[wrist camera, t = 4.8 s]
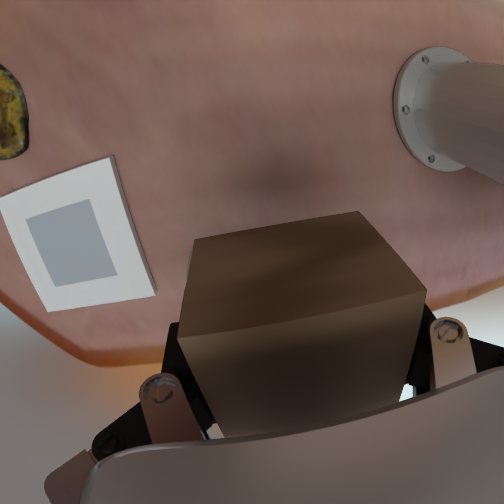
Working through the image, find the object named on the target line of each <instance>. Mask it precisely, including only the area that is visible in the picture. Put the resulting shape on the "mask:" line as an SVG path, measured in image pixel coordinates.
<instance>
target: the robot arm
mask: <svg viewBox="0 0 504 504" xmlns="http://www.w3.org/2000/svg"><path fill="white" fill-rule="evenodd" d="M393 103H394V115H395V120H396V125H397V128H398V131H399V134H400V136H401V138H402V140H403V142H404V144H405V146H406V147H407V149H408V150H409V151H410V152H411V154H412V155H413V156H414V157H415V158H416V159H418V160H419V161H420V162H421V163H423V164H425V165H427V166H428V167H430V168H433V169H435V170H438V171H443V172H453V171H458V170H461V169H463V168H465V167H468V168H470V169H472V170H474V171H477V172H479V173H481V174H483V175H485V176H487V177H489V178H491V179H493V180H495V181H496V182H498V183H500V184H502V185H504V65H502V64H489V63H473V62H472V61H471V60H470V59H469V58H468V57H466V56H465V55H464V54H462V53H460V52H459V51H457V50H455V49H451V48H448V47H429V48H425V49H423V50H420V51H418V52H416V53H415V54H414V55H412V56H411V57H410V58H409V59H408V60H407V61H406V63H405V64H404V65H403V67H402V69H401V71H400V73H399V75H398V78H397V81H396V84H395V89H394V98H393ZM402 107H403V110H402ZM184 293H185V291H184ZM183 299H184V297H183ZM182 304H183V302H182ZM181 310H182V308H181ZM180 316H181V314H180ZM179 322H180V320H179ZM179 322H175V323H171V324H170V327H169V332H168V337H167V342H166V348H165V353H164V359H163V365H162V370H161V373H159V374H155V375H153V376H151V377H149V378H148V379H146V380H145V381H144V383H143V384H142V385H141V387H140V390H139V398H140V402H139V403H137V404H136V405H135V406H134V407H133V408H131V409H130V410H129V411H127V412H126V413H125V414H123V415H122V416H121V417H119V418H118V419H117V420H115V421H114V422H113V423H111V424H110V425H109V426H108V427H106V428H105V429H103V430H102V431H101V432H100V433H99V434H97V435H96V437H95V438H94V440H93V443H92V449H90V450H89V451H87V450H86V449H85V450H83V451H82V452H80V453H79V454H77V455H76V456H75V457H73V458H72V459H70V460H69V461H67V462H66V463H65V464H63V465H62V466H60V467H59V468H57V469H56V470H54V471H53V472H51V473H50V474H49V475H48V476H47V478H46V480H45V482H44V489H45V493H46V495H47V496H48V498H49V500H50V502H51V504H504V347H500V346H497V345H493V344H490V343H487V342H483V341H480V340H477V339H473V338H470V337H469V336H468V332H467V329H466V327H465V326H464V324H463V323H462V322H460V321H459V320H457V319H454V318H451V317H442V318H438V319H436V317H435V316H434V315H433V313H432V312H431V310H430V309H429V308H428V306H427V305H426V304H424V309H423V314H422V319H421V323H420V328H419V332H418V336H417V340H416V344H415V348H414V352H413V356H412V359H411V363H410V367H409V370H408V374H407V377H406V380H405V384H409V385H412V386H413V397H412V398H409V399H406V400H403V401H400V402H397V403H394V404H391V405H387V406H384V407H381V408H377V409H374V410H370V411H367V412H363V413H359V414H356V415H352V416H348V417H344V418H340V419H336V420H331V421H327V422H323V423H318V424H313V425H308V426H303V427H298V428H292V429H287V430H281V431H275V432H269V433H262V434H255V435H247V436H239V437H230V438H220V439H211V438H210V436H209V434H208V432H207V430H208V429H209V428H210V427H211V426H212V424H214V423H217V422H216V420H215V418H214V416H213V414H212V412H211V410H210V408H209V406H208V404H207V402H206V400H205V398H204V396H203V394H202V392H201V390H200V388H199V386H198V384H197V382H196V380H195V377H194V375H193V373H192V371H191V369H190V367H189V365H188V362H187V360H186V358H185V356H184V353H183V351H182V349H181V347H180V344H179V342H178V340H177V334H178V328H179ZM405 384H404V385H405Z"/></svg>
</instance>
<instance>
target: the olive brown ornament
mask: <svg viewBox="0 0 504 504" xmlns="http://www.w3.org/2000/svg"><path fill="white" fill-rule="evenodd" d="M28 117H29V115H28V108H27V103H26V99H25V96H24V93H23V90H22V87H21V86H20V84H19V82H18V81H17V80H16V79H15V78H14V76H13V75H12V74H11V73H10V72H9V71H8V70H7V69H6V68H4V67H3V66H2V65H0V160H6V159H11V158H14V157H17V156H19V155H20V154H22V153H23V152H24V151H25V150H26V149H27V147H28V139H27V128H26V127H27V122H28Z"/></svg>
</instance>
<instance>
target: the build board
mask: <svg viewBox="0 0 504 504" xmlns="http://www.w3.org/2000/svg"><path fill="white" fill-rule="evenodd" d="M0 210H1V213H2V216H3V218H4V221H5V223H6V226H7V229H8V231H9V233H10V236H11V238H12V241H13V243H14V245H15V247H16V250H17V252H18V254H19V256H20V259H21V261H22V263H23V265H24V267H25V269H26V271H27V273H28V275H29V277H30V279H31V281H32V283H33V285H34V287H35V289H36V291H37V293H38V295H39V297H40V299H41V300H42V302H43V304H44V306H45V308H46V309H47V311H48V312H51V311H58V310H65V309H72V308H79V307H85V306H92V305H99V304H105V303H112V302H118V301H125V300H131V299H137V298H144V297H150V296H155V295H156V292H157V288H156V286H155V283H154V280H153V278H152V275H151V272H150V270H149V267H148V264H147V262H146V259H145V256H144V253H143V250H142V247H141V245H140V242H139V239H138V236H137V233H136V230H135V227H134V224H133V221H132V218H131V215H130V211H129V208H128V205H127V202H126V199H125V195H124V192H123V189H122V185H121V182H120V178H119V175H118V171H117V168H116V164H115V161H114V157H113V155H112V156H108V157H105V158H102V159H99V160H96V161H92V162H89V163H86V164H83V165H80V166H77V167H75V168H72V169H69V170H66V171H63V172H60V173H58V174H55V175H52V176H50V177H47V178H44V179H42V180H39V181H37V182H34V183H32V184H29V185H27V186H24V187H22V188H19V189H17V190H15V191H12V192H10V193H8V194H5V195H3V196H1V197H0Z"/></svg>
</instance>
